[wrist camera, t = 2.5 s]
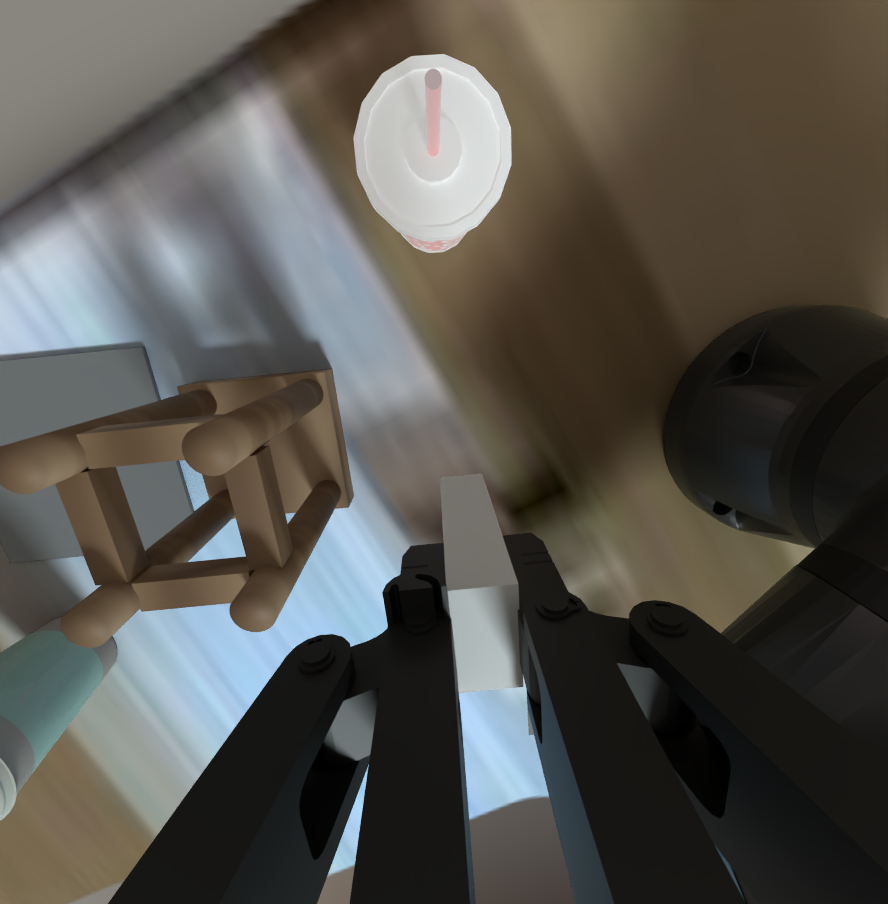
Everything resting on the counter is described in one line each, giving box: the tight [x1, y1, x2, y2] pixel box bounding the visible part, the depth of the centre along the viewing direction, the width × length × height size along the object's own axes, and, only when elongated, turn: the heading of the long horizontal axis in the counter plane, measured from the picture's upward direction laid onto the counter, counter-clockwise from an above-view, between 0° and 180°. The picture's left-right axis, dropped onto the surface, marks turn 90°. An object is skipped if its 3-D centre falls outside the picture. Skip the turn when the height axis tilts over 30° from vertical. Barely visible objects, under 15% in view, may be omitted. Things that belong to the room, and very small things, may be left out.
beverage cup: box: [353, 54, 511, 253], centre depth 18 cm, size 6×6×14 cm
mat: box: [0, 347, 194, 563], centre depth 29 cm, size 14×14×1 cm
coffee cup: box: [0, 617, 117, 820], centre depth 27 cm, size 9×8×12 cm
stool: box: [0, 369, 354, 648], centre depth 22 cm, size 9×9×14 cm
